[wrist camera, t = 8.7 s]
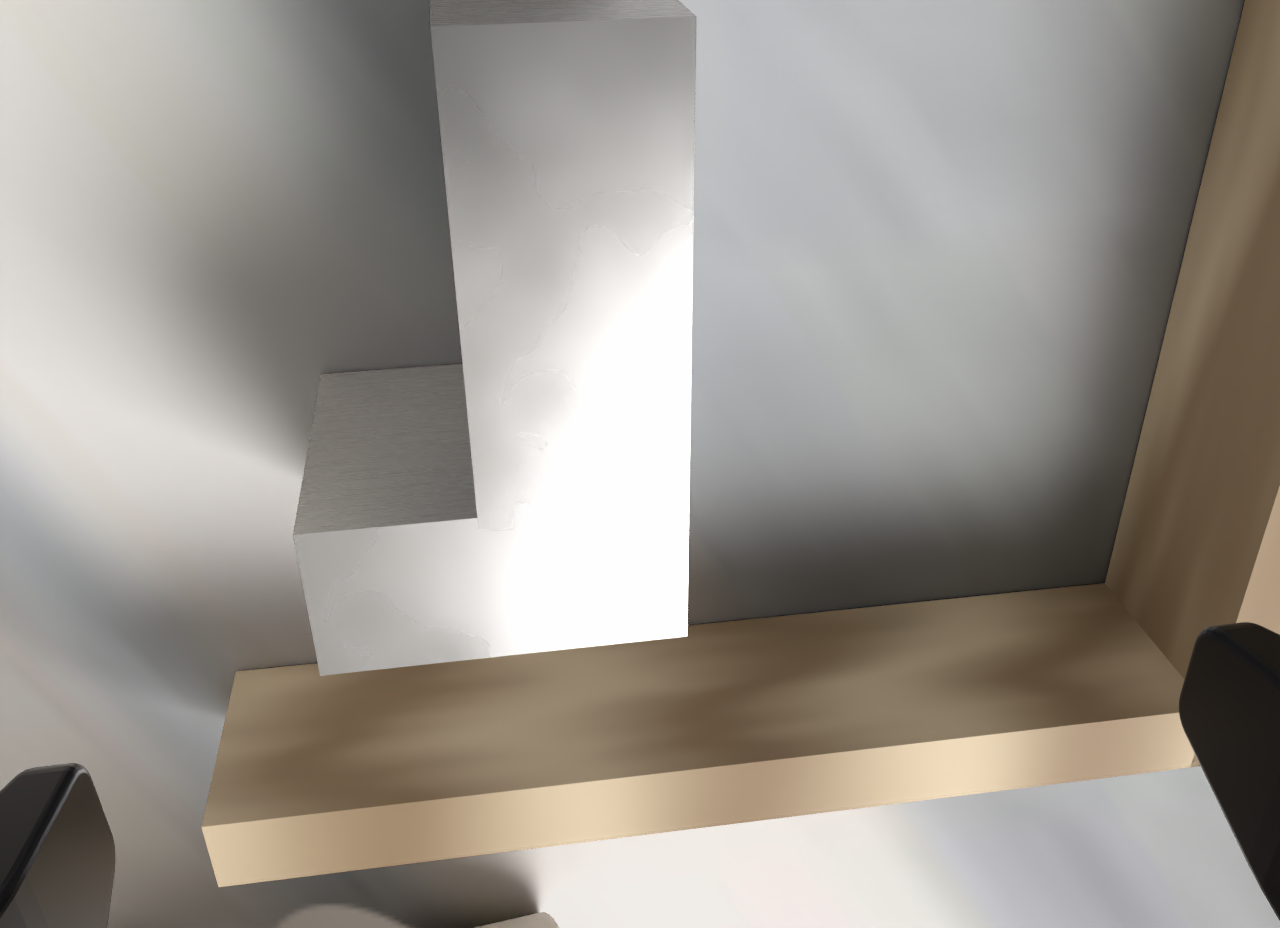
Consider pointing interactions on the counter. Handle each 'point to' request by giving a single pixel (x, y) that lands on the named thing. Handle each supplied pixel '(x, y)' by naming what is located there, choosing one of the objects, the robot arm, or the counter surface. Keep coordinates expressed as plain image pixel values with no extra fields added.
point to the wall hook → (526, 922)
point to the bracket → (528, 361)
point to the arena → (829, 639)
